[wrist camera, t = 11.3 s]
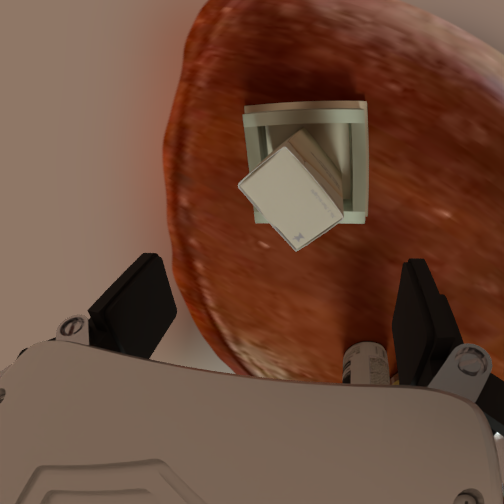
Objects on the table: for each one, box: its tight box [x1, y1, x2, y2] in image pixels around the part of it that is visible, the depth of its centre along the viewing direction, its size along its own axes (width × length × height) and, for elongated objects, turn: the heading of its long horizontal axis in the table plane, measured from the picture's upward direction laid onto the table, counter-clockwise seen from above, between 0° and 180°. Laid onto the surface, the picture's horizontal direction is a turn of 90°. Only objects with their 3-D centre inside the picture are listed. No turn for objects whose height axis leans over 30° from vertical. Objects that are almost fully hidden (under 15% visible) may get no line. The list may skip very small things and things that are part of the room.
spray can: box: [343, 342, 390, 385], centre depth 33 cm, size 7×7×20 cm
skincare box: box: [238, 127, 344, 252], centre depth 24 cm, size 6×4×12 cm
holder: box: [243, 101, 369, 224], centre depth 28 cm, size 12×12×4 cm
